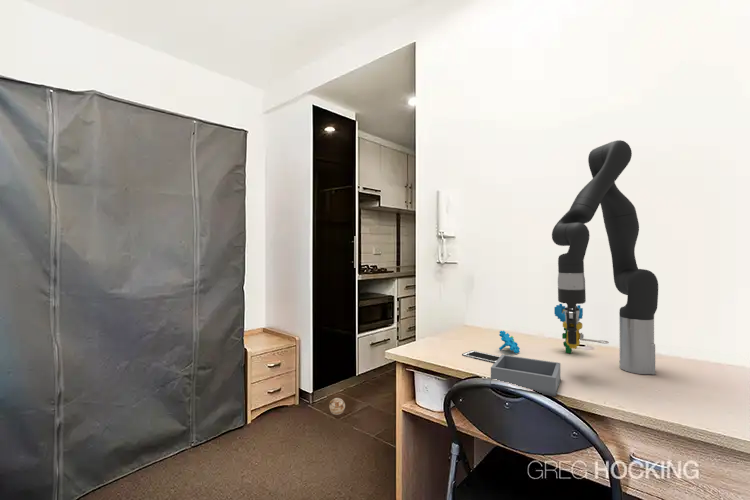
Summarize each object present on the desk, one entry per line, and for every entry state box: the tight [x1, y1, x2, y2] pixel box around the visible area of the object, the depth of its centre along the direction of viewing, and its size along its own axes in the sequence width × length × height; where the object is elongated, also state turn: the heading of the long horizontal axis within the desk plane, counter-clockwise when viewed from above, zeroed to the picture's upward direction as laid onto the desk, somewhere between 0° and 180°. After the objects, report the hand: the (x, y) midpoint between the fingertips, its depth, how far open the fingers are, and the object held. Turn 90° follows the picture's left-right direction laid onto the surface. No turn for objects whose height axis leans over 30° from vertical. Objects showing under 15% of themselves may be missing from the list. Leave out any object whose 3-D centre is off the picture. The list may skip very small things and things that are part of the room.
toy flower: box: [554, 303, 584, 354], centre depth 138 cm, size 9×9×18 cm
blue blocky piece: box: [498, 330, 521, 354], centre depth 140 cm, size 11×6×10 cm
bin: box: [490, 354, 561, 398], centre depth 107 cm, size 17×15×5 cm
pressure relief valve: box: [562, 321, 610, 350], centre depth 110 cm, size 6×12×10 cm, turn 51°
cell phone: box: [461, 350, 501, 364], centre depth 131 cm, size 8×15×1 cm, turn 45°
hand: (572, 341), depth 112 cm, fingers closed on pressure relief valve, 5 cm apart
